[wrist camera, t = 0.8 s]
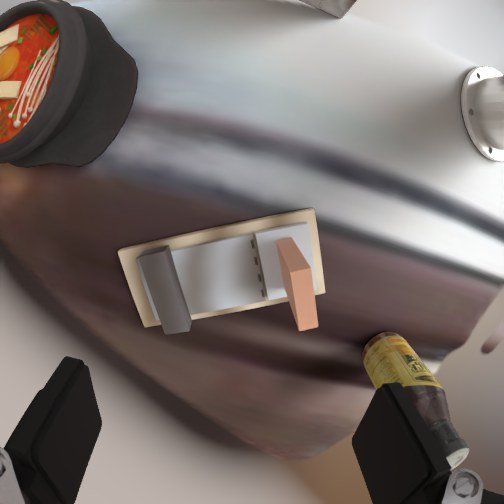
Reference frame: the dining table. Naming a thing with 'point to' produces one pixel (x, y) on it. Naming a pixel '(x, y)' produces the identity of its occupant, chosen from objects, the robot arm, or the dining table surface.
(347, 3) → the coffee box
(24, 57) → the casserole
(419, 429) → the robot arm
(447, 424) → the sauce bottle
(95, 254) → the dining table surface
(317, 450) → the dining table surface
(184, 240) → the ticket board
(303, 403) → the dining table surface
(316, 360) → the dining table surface
